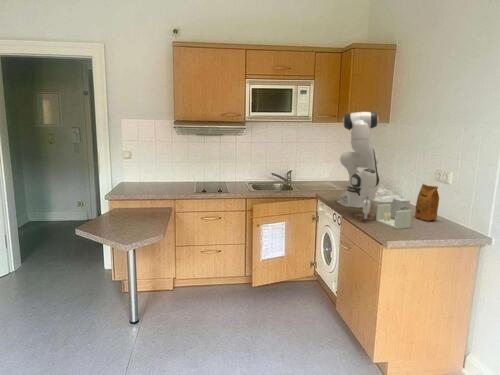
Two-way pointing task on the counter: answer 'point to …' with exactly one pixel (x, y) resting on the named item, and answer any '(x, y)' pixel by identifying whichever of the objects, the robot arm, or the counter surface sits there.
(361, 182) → the robot arm
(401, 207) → the supplement box
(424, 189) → the coffee package
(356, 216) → the brown wooden block
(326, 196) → the counter surface
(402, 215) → the pegged wall bracket
